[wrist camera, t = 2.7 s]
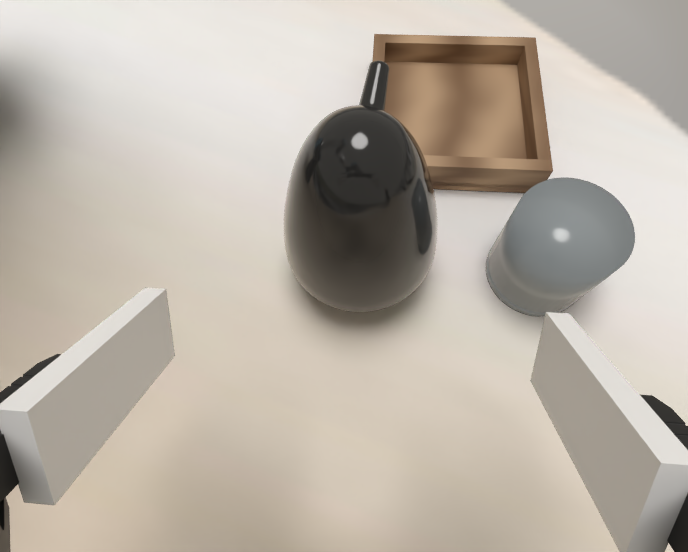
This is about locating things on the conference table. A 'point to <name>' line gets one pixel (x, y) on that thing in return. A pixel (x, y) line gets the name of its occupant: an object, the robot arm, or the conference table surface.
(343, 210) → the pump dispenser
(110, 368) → the robot arm
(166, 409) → the conference table surface
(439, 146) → the tray
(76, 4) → the conference table surface
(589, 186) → the grey round-ended cylinder
